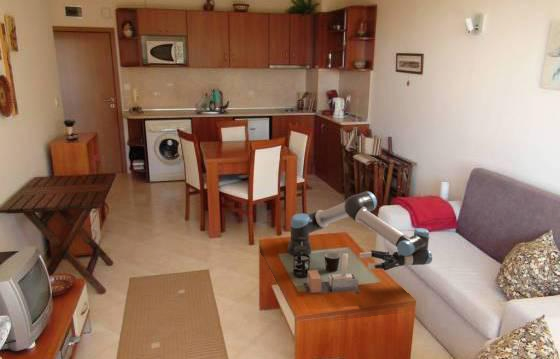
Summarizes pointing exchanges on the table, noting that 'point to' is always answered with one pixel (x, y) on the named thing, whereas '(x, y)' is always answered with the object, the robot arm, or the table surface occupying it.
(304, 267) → the french press
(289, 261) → the table surface
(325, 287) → the slotted sleeve
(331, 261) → the coffee mug
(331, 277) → the bar
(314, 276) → the socket block
